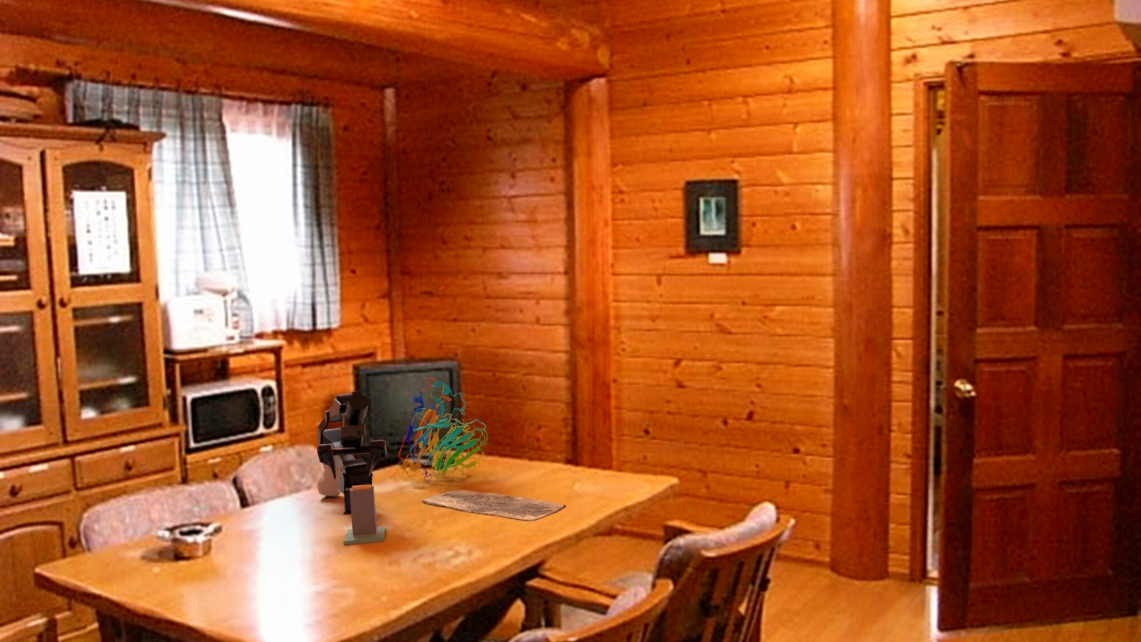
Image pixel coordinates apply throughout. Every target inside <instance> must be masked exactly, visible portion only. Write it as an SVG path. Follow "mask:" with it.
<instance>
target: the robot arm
mask: <svg viewBox="0 0 1141 642" xmlns="http://www.w3.org/2000/svg"><path fill="white" fill-rule="evenodd" d="M369 403H370V400H369V398H367V396H365V395H364V394H362V393H360V392H359V390H355V391H351V393H344V394H343V393H342V394H337V395H335V397H334V398H333V402H332V406H330V407H329V409H326V410H325V411H324V412H323V418H322V420H321V421H320V423H319V425H318V426H317V433H316V434H317V436H316V439H317V444H318V446H317V447H316V453H317V457H318V461H319V463H321V464H323V463H324V464H325V465H328V466H329V467H330V469H331V471H332V474H333V477H334V479H336V469H335V461H334V458H335V459H336V461H337V463H338V464H339V466H340V470H341V472H342V473H341V475H340V480H339V484H338V485H339V491H340V493H341V494H343V502H344V511H343V514H345V515H347V514H350V515H351V503H350V489H351V488H352V486H359V485H371V486H373V475H374V474H373V470H374V468H375V467H376V465H377V464H378V462H380V461H382V460H383V459H386V458H387V457H388V456H387V454H388V451H387V445H386V441H385V440H384V439H377V440H370V445H367V446H366V445H365V446H363V445H364V440H363V439H364V436H367V428H366V427H367V426H366V423H365V422H364V419H366V415H367V411H368V408H369V405H370V404H369ZM337 422H339V423H340V424H341V426H340V427H336V428H330V429H327V428H328V426H329V424H330V423H337ZM367 454H368V463H366V461H365V459H364V458H362V457H360V458H355V456H354V455H367Z"/></svg>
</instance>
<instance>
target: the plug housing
mask: <svg viewBox="0 0 1141 642" xmlns="http://www.w3.org/2000/svg"><path fill="white" fill-rule="evenodd" d="M375 496H376V495H375V486H374V485H372V486H371V485H359V486H352V488H351V489H350V503H351V514H350V516H351V526H352V528H351V529H352V530H353V536H358V535H370V534H376V533H377V527H378V524H377V523H378V522H377V512H376V511H377V509H376V498H375Z"/></svg>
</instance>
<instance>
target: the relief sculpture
mask: <svg viewBox="0 0 1141 642" xmlns="http://www.w3.org/2000/svg"><path fill="white" fill-rule="evenodd" d="M421 502H422V503H425V504H427V505H433V506H439V507H445V508H446V509H455V510H459V511H461V512H464V513H468V514H469V513H474V514H477V515H482V516H483V515H490V516H496V517H500V518H508V519H514V520H518V521H525V522H534V521H537V520H540V519H543V518H546V517H549V516H551V515H554V514H556V513H557V512H559V511H560V510H561V509H563V508H564V507H565V506H567V505H566V504H562V503H557V502H556V503H555V502H552V501H545V500H541V499H532V498H528V497H522V496H514V495H505V494H502V493H496V492H495V493H494V492H479V491H475V490H465V489H454V490H450V491H446V492H445V493H440V494H436V495H433V496H430V497H428V498H424V499H422V500H421Z"/></svg>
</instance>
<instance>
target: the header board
mask: <svg viewBox="0 0 1141 642" xmlns="http://www.w3.org/2000/svg"><path fill="white" fill-rule="evenodd" d="M386 531H387V527H386V526H385V525H384V526H377V533H376V534H370V535H358V536H353V530H352V528H350V529H347V532H346V534H345V535H344V539H343V545H344V546H346V545H347V546H348V545H357V544H358V545H359V544H370V543H379V542H380V543H381V542H384V538H385V534H386Z"/></svg>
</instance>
